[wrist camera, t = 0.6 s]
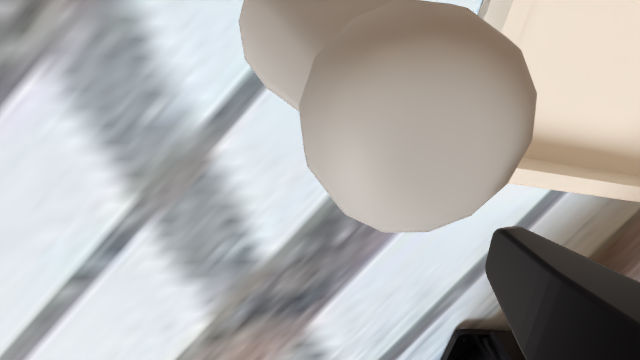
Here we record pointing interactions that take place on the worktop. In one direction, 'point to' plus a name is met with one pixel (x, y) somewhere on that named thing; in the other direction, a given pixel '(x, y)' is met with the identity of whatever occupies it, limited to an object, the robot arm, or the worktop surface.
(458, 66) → the salt shaker
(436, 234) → the worktop surface
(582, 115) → the tray
